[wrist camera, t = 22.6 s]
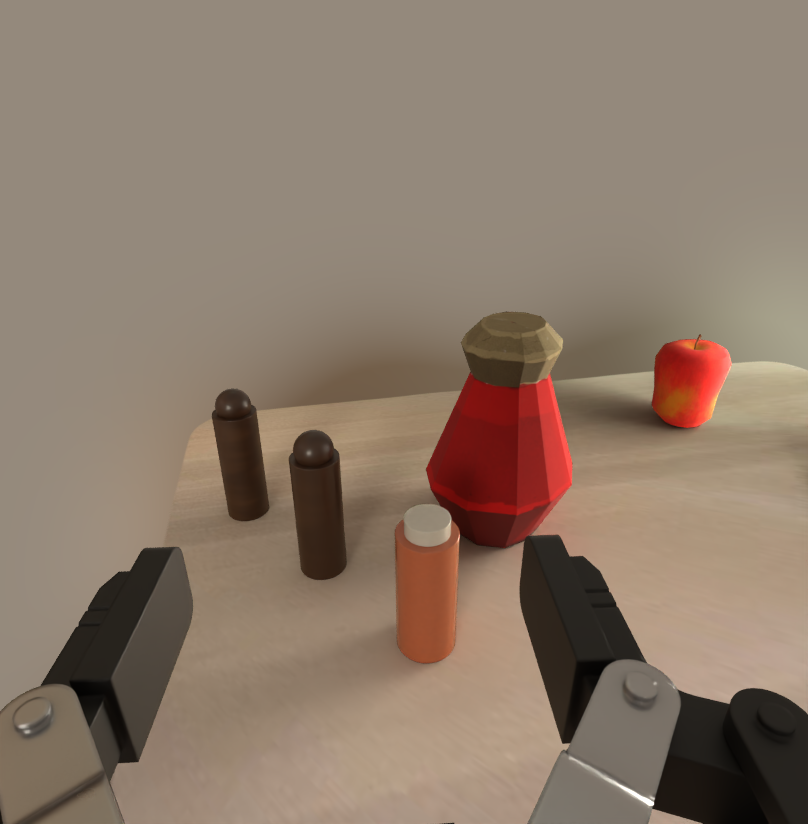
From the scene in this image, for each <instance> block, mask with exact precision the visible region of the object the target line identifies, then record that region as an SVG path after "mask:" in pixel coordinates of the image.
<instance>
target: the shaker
mask: <svg viewBox="0 0 808 824" xmlns="http://www.w3.org/2000/svg"><path fill="white" fill-rule="evenodd" d="M459 545H460V531H459V528H458V526H457V525H456V524H455V523H454V522H453V521H452V520H451V515H450V513H449V512H448V511H447V510H446V509H445V508H443V507H441V506H438V505H434V504H420V505H416V506H413V507H411V508H410V509H408V510H407V511H406V512H405V514H404V518H403V520H402V521H400V522H399V524H398V525H397V527H396V529H395V578H396V632H397V645H398V647H399V649H400V651H401V652H402V653H403V654H404V655H405V656H406V657H408V658H409V659H411V660H413V661H416V662H420V663H434V662H438V661H440V660H442V659H444V658H446V657H447V656H448V655H449V654H450V653H451V652H452V650H453V648H454V646H455V636H456V614H457V591H458V568H459Z"/></svg>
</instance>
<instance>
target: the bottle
mask: <svg viewBox="0 0 808 824" xmlns="http://www.w3.org/2000/svg"><path fill="white" fill-rule="evenodd" d="M562 343H563V339H562V338H561V337H560V336H559V335H558V334H557V333H556V332H555V331H554V329H553V328H552V327H551V326H550V325H549V324H548V323H547V322H546V321H545V320H544V319H543V318H542V317H541V316H537V315H533V314H529V313H522V312H502V313H496V314H492V315H490V316H487V317H484V318H483V319H482V320H481V321H480V322H479V323H477V325H475V326H474V327H473V328H472V329H471V330H470V331H469V332H467V333H466V335H465V336H464V338H463V340H462V342H461V344H462V347H463V350H464V353H465V356H466V359H467V362H468V365H469V368H470V370H471V372H470V374H469V376H468V378H467V381H466V383H465V385H464V387H463V389H462V392H461V394H460V396H459V398H458V400H457V402H456V405H455V407H454V409H453V411H452V413H451V416H450V418H449V420H448V422H447V424H446V426H445V429H444V431H443V433H442V435H441V437H440V440H439V442H438V444H437V446H436V448H435V450H434V453H433V455H432V457H431V459H430V461H429V464H428V466H427V468H426V471H427V475H428V479H429V484H430V488H431V491H432V492H433V494H434V496H435V497H436V499H437V501H438V502H439V504H440V505H441V507H443V508H445V509H446V510H447V511H448V512H449V513H450V515H451V520H452V521H453V522H454V523H455V524H456V525H457V526H458V528H459V531H460V535H462V536H463V537H465V538H467V539H468V540H470V541H472V542H473V543H475V544H477V545H482V546H491V547H499V548H506V547H509V546H512V545H514V544H517V543H520V542H522V541H524V540H525V538H526V536H529V535H530V534H532V533H533V532H534V531H535V530H536V529H537V527H538V526H539V525H540V524H541V522H542V521H543V520H544V519H545V517H546V516H547V515H548V514H549V512H550V511H551V510H552V509H553V507H554V506H555V505H556V504H557V502H558V501H559V500H560V499H561V498H562V496H563V495H564V494H565V493H566V491H567V490H568V489H569V488H570V486H571V485H572V461H571V457H570V453H569V449H568V445H567V441H566V437H565V433H564V429H563V425H562V421H561V417H560V413H559V409H558V405H557V401H556V397H555V393H554V389H553V385H552V381H551V377H550V371H551V369H552V367H553V365H554V363H555V362H556V359H557V358H558V356H559V354H560V352H561V350H562Z"/></svg>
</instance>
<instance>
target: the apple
mask: <svg viewBox="0 0 808 824" xmlns="http://www.w3.org/2000/svg"><path fill="white" fill-rule="evenodd" d="M700 338H701V335H699V337H698V339H697V340H696V339H695V340H694V339H685V340H678V341H674V342H670V343H667V344H665V345H664V346H663V347H662V348H661V350H660V351H659V352H658V354H657V355H656V358H655V368H654V369H655V370H654V393H653V399H652V407H653V409H654V411H655V412H656V413H657V414H658V415H659V416H660V417H661V418H662V419H663V420H664V421H665V422H666V423H668V424H671V425H674V426H678V427H686V428H689V427H696V426H699V425H700V424H702V423H703V422H705V421H707V420H708V419H710V418H711V415H712V412H713V409H714V405H715V402H716V399H717V395H718V393H719V391H720V389H721V387H722V385H723V382H724V380H725V378H726V376H727V374H728V371H729V369H730V366H731V361H730V357H729V353H728V351H727V350H726V349H725V348H723V347H722V346H720V345H718V344H716V343H714V342H711V341H706V340H699V339H700Z"/></svg>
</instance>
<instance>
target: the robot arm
mask: <svg viewBox="0 0 808 824" xmlns="http://www.w3.org/2000/svg"><path fill="white" fill-rule="evenodd" d="M520 603H521V609H522V613H523V617H524V620H525V623H526V626H527V630H528V633H529V636H530V639H531V643H532V646H533V649H534V653H535V656H536V659H537V662H538V666H539V669H540V672H541V675H542V679H543V682H544V685H545V689H546V692H547V695H548V698H549V702H550V705H551V708H552V711H553V715H554V718H555V721H556V725H557V728H558V731H559V734H560V738H561V741H562V744H565V743H570V745H569V747H568V749H567V751H565V750H563V751H562V752H561V753H560V755H559V757H558V759H557V761H556V763H555V765H554V767H553V769H552V771H551V773H550V776H549V778H548V780H547V782H546V784H545V787H544V789H543V791H542V793H541V795H540V797H539V800H538V802H537V804H536V806H535V808H534V811H533V813H532V815H531V817H530V819H529V821H528V824H648V822H649V819H650V815H651V811H652V809H656V810H659V811H662V812H666V813H669V814H673V815H676V816H679V817H683V818H686V819H690V820H693V821H697V822H700V823H703V824H808V714H807V713H806V712H805V711H804V710H803V709H801V708H800V707H799V706H798V705H796V704H795V703H793V702H792V701H791V700H789V699H787V698H785V697H783V696H781V695H779V694H777V693H774V692H771V691H768V690H764V689H756V688H750V689H744V690H741V691H739V692H737V693H736V694H735V695H734V696H733V698H732V699H731V702H730V704H727V703H723V702H718V701H714V700H710V699H706V698H702V697H697V696H694V695H690V694H687V693H684V692H682V691H679V690H678V689H677V688H676V687H675V685H674V684H673V682H672V681H671V680H670V679H669V678H668V677H667V676H666V675H665V674H664V673H663V672H661V671H660V670H658V669H657V668H655V667H653V666H651V665H649V664H647V662H646V661H645V659H644V657H643V655H642V653H641V651H640V649H639V647H638V645H637V643H636V641H635V639H634V637H633V635H632V633H631V631H630V629H629V627H628V625H627V623H626V622H625V620H624V618H623V616H622V614H621V612H620V610H619V608H618V607H617V606H616V602H615V600H614V598H613V596H612V594H611V592H609V588H608V586H607V584H606V582H605V580H604V579H603V577H602V575H601V573H600V571H599V570H598V569H597V568H596V567H595V566H593V565H592V564H591V563H590V562H589V561H588V560H587V559H586V558H585V557H583V556H574V557H569V555H568V553H567V550H566V548H565V546H564V544H563V542H562V539H561V538H560V536H559V535H538V536H526V538H525V541H524V550H523V559H522V569H521V578H520ZM192 612H193V599H192V593H191V589H190V584H189V580H188V575H187V571H186V567H185V562H184V558H183V554H182V551H181V549H180V548H179V547H162V548H145V549H143V550H142V551H141V553H140V554H139V556H138V558H137V560H136V561H135V563H134V565H133V567H132V569H131V570H130V571H127V572H118V573H117V574H116V575H115V576H113V577H112V578H111V579H110V580H109V581H108V582H106V583H105V584H104V585H103V586H102V587H101V588H100V589H99V590H98V592H97V594H96V595H95V597H94V598H93V600H92V602H91V603H90V605H89V607H88V611H86V612H85V613H84V615H83V617H82V618H81V620H80V621H79V626H78V627H76V628H75V630H74V632H73V633H72V635H71V636H70V638H69V640H68V641H67V643H66V645H65V646H64V648H63V650H62V651H61V653H60V654H59V656H58V658H57V659H56V661H55V663H54V665H53V666H52V668H51V669H50V671H49V673H48V674H47V676H46V678H45V679H44V681H43V683H42V684H41V686H40V687H37V688H34V689H31V690H29V691H27V692H25V693H23V694H21V695H20V696H18V697H17V698H15V699H14V700H12V701H11V702H10V703H9V704H7V705H6V706H5V707H4V708H3V709H2V710H1V711H0V824H125V822H124V820H123V817H122V814H121V811H120V809H119V806H118V803H117V800H116V798H115V795H114V792H113V789H112V787H111V784H110V780H111V778H112V775H113V773H114V771H115V768H116V766H117V763H130V762H139V759H140V756H141V754H142V751H143V748H144V746H145V743H146V740H147V738H148V735H149V732H150V730H151V727H152V725H153V722H154V719H155V717H156V714H157V711H158V709H159V706H160V703H161V701H162V698H163V695H164V693H165V690H166V687H167V685H168V682H169V679H170V677H171V674H172V672H173V669H174V666H175V664H176V661H177V658H178V656H179V653H180V650H181V648H182V645H183V642H184V640H185V637H186V634H187V632H188V629H189V626H190V623H191V619H192ZM444 824H454V823H444Z"/></svg>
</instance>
